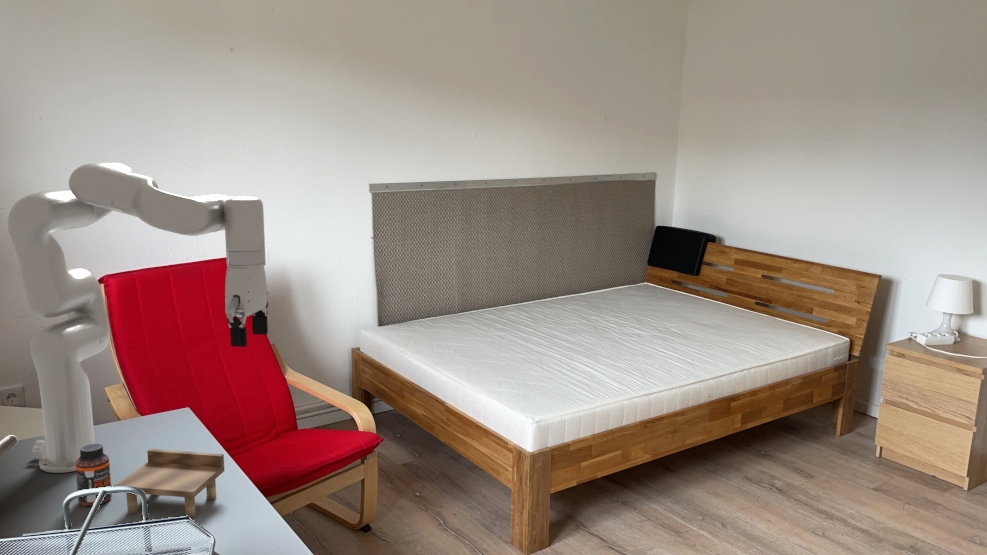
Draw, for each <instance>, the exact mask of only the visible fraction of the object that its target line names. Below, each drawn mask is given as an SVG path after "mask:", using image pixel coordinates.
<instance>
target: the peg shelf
mask: <svg viewBox="0 0 987 555" xmlns="http://www.w3.org/2000/svg"><path fill="white" fill-rule="evenodd" d="M146 452H147V462H146V463H144V464H143V465H141V466H140V467H139V468H138V469H136V470H135V471H132V472H131V473H130V474H129V475H128V476H126V477H124V478H123V479H121V481H119V482H118V483H116V484H115V485H114V487H115V486H133V487H137V488H139V489H141V490H143V491H144V492H145V494H144V495H152V496H165V497H178V498H184V509H185V510H184V512H185V516H186V515H188V516H189V517H190V518H192V519H195V518H196V516H197V515H196V514H197V513H196V497H197V496H198V495H199V494H200V493H201V492H202V491H203V490H205V488H206V491H205V492H206V499H207V500H209V501H210V500H211V501H212V500H215V499H216V498H217V485H216V481H217V480H216V479H217V478H218V477H220V475H222V474H223V473H224V472H225V456H224V455H225V454H223V453H210V452H196V451H182V450H170V449H155V448H149V449H148V450H147V451H146ZM125 495H126V509H127V514H128V515H133V514H137V513H138V512H139V508H138V507H139V506H138V505H139V504H138V494H137V495H135V494H132V493H126V492H125ZM192 519H191V520H192Z"/></svg>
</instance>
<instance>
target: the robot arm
mask: <svg viewBox="0 0 987 555" xmlns="http://www.w3.org/2000/svg"><path fill="white" fill-rule="evenodd" d="M68 187H69V189H57V190H47V191H40V192H35V193H31V194H27V195H25V196H23V197H22V198H20V199H18V200H17V201H16V202H15V203H14V204H13V205H12V207H11V209H9V213H8V216H7V230H8V234H9V237H10V241H11V243H12V246H13V248H14V250H15V254H16V257H17V260H18V264H19V271H20V274H21V280H22V282H23V288H24V292H25V296H26V300H27V304H28V306H29V310H31V312H32V313H33V315H35V317H38V318H41V319H52V318H56V317H61V316H63V315H64V316H65V315H66V318H67V319H64V320H61V321H59V322H55V323H52V324H49V325H48V326H45V327H43V328H41V329H39V331H37V332H36V334H35V335H34V336H33V338H32V339H31V342H30V348H29V349H30V350H29V351H30V354H31V359H32V361H33V364H34V366H35V370H36V374H37V375H36V376H37V379H38V386H39V394H40V401H41V413H42V424H43V433H44V439H43V440H40V439H37V440H36V441H35V442H34V443H33V444H34V445H33V447H32V448H31V452H32V453H38V454H39V453H41V456H42V457H41V458H40V459H39V461H38V465H39V469H40V470H42V471H43V472H46V473H52V474H54V473H55V474H56V473H57V474H62V473H63V474H64V473H70V472H71V473H72V472H76V461H77V460H78V458H80V456H81V455H80V448H81V447H83V446H85V445H89V444H96V443H95V439H96V438H95V430H94V429H95V428H94V418H93V417H94V416H93V407H92V405H93V404H92V394H91V387H90V386H91V385H90V381H89V377H88V374H87V372H85V370H84V368H83V367H82V363H81V362H82V361H84V360H85V359H86V360H87V359H89V358H91V357H93V356H95V355H97V354H99V353H101V352H102V351H104V350H106V348H107V347H108V345H109V343H110V340H111V330H110V329H111V328H110V323H109V319H108V312H107V309H106V304H105V301H104V295H103V291H102V287H101V285H100V282H99V280H98V279H97V278H96V276H95V275H94V274H93V273H92V272H91V271H89V270H87V269H86V268H81V267H67V263H66V258H65V254H64V251H63V248H62V247H61V245H60V244H59V242H58V240H56V239H55V237H53V236H52V234H53V233H55V232H59V231H60V232H61V231H69V230H75V229H81V228H86V227H88V226H91V225H93V224H95V223H97V222H98V221H99V220H101V219H103V218H104V217H106V216H107V215H109V214H111V213H113V211H114V212H117V213H121V214H125V215H128V216H133V217H137V218H138V219H140V220H141V221H142V222H144V223H146V224H147V225H148V226H150V227H152V228H156V229H157V230H158V229H159V230H162V231H165V232H166V231H167V232H170V233H174V234H178V235H182V236H191V237H193V236H195V237H196V236H202V235H207V234H210V233H216V232H220V231H224V233H225V252H226V254H225V257H226V266H227V268H226V272H225V273H226V274H225V285H224V286H225V289H224V290H225V292H224V296H225V299H224V302H225V304H224V305H225V310H224V312H225V315H226V321H227V323H228V328H229V335H230V346H231V347H233V348H234V347H239V348H246V347H247V346H248V338H247V337H248V334H247V333H248V332H247V327H246V326H245V324H246V320H247V317H249V316H251V328H252V329H251V330H252V335H261V336H262V335H263V336H266V335H267V334H268V333H269V331H268V314H269V311H268V306H269V302H268V301H269V294H270V293H269V291H268V290H267V288H268V287H267V280H266V279H267V278H266V272H265V271H266V268H265V266H266V246H265V243H266V241H265V216H264V204H263V201H262V200H261V199H260V198H258V197H255V196H228V195H223V194H207V195H199V196H192V197H188V196H182V195H179V194H178V195H177V194H173V193H171V192H167V191H163V190H161V189H159V185H158V183H157V182H156V180H155V179H154V178H152V177H149V176H147V175H142V174H138V173H135V172H134V171H133V170H132V168H130V167H128V166H127V165H125V164H123V163H120V162H96V163H95V162H94V163H87V164H86V163H85V164H82V165H80V166H78V167H77V168H76V169H74V170H73V171H72V173H71V174H70V176H69V179H68Z"/></svg>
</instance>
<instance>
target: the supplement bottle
mask: <svg viewBox="0 0 987 555" xmlns="http://www.w3.org/2000/svg"><path fill="white" fill-rule="evenodd" d="M80 455H81V456H80V458H78V460H77V461H76V471H75V475H76V487H77V488H76V489H77V491H78V490H82V489H89V488H98V487H106V486H111V487H112V480H111V469H110V468H111V466H110V457H109V455H108V454H106V453H104V446H103V444H101V443H95V444H89V445H85V446H83V447H81V448H80ZM112 495H113V494H112V493H111V494H106V495H105V497H104V500H103V501H102V503H101V505H102V504H105V503H107V502H109V501H110V500H111V499H112ZM97 496H98V495H91V496H84V497H79V498H78V497H77V500H78V503H79V505H81V506H83V507H93V506H92V505H93V503H94V502H95V500H96V498H97Z"/></svg>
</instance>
